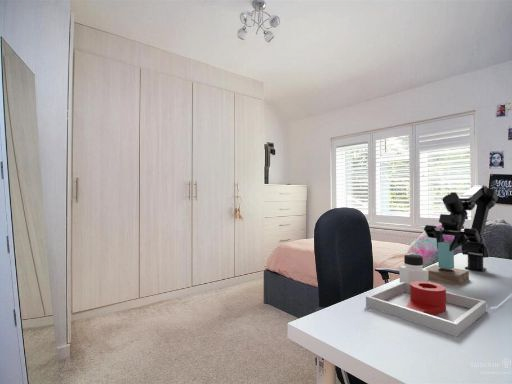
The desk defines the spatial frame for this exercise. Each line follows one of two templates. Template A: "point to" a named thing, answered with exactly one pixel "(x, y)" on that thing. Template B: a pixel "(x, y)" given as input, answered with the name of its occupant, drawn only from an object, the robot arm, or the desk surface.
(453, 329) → the tray
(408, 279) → the medicine bottle
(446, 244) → the plug
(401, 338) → the desk surface
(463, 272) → the brown flat block
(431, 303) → the red oval ring
